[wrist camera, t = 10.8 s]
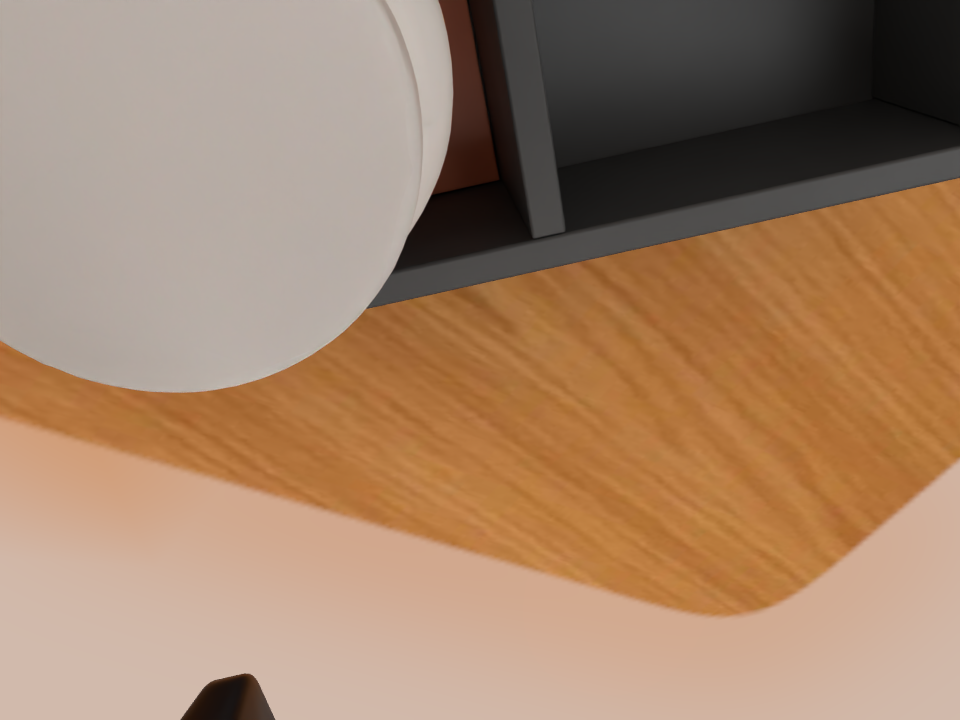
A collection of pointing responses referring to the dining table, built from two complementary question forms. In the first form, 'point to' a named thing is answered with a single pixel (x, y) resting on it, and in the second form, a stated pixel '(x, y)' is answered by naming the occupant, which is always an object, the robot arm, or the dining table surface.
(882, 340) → the dining table surface
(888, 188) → the grid
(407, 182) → the pill bottle
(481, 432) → the dining table surface
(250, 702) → the robot arm
